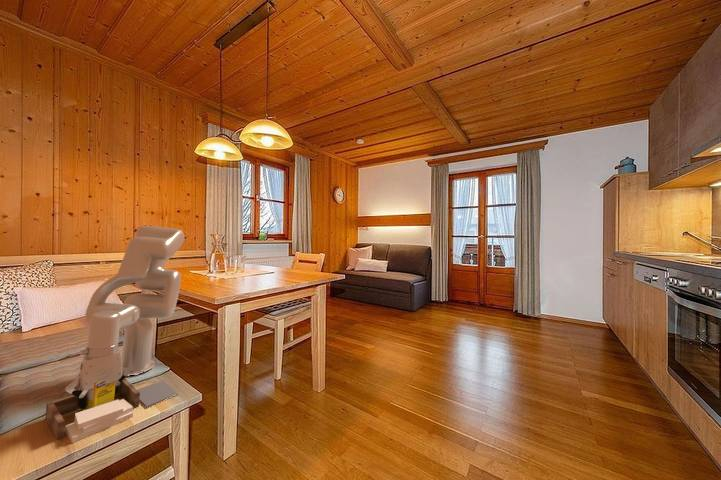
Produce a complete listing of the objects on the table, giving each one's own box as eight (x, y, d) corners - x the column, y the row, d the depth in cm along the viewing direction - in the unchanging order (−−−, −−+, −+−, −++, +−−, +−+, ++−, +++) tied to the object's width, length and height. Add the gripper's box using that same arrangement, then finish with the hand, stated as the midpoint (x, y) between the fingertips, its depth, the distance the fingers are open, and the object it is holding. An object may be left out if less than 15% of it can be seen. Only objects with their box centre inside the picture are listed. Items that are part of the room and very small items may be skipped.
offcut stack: (64, 430, 82) (65, 415, 82) (124, 406, 94) (125, 393, 94) (72, 443, 78) (73, 428, 78) (133, 417, 90) (135, 403, 90)
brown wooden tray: (45, 418, 85) (46, 403, 85) (123, 391, 101) (124, 377, 101) (57, 440, 79) (58, 423, 78) (138, 406, 95) (139, 392, 95)
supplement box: (114, 406, 94) (116, 375, 93) (92, 417, 88) (95, 384, 87) (101, 401, 95) (104, 370, 95) (80, 411, 89) (82, 379, 89)
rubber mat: (131, 392, 101) (131, 391, 101) (162, 381, 110) (162, 380, 110) (146, 408, 95) (146, 406, 95) (178, 394, 104) (178, 393, 104)
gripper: (68, 363, 81) (63, 421, 82) (139, 345, 96) (134, 394, 97) (60, 354, 85) (56, 409, 86) (130, 338, 100) (125, 385, 101)
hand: (98, 401), depth 91 cm, fingers closed on supplement box, 6 cm apart
